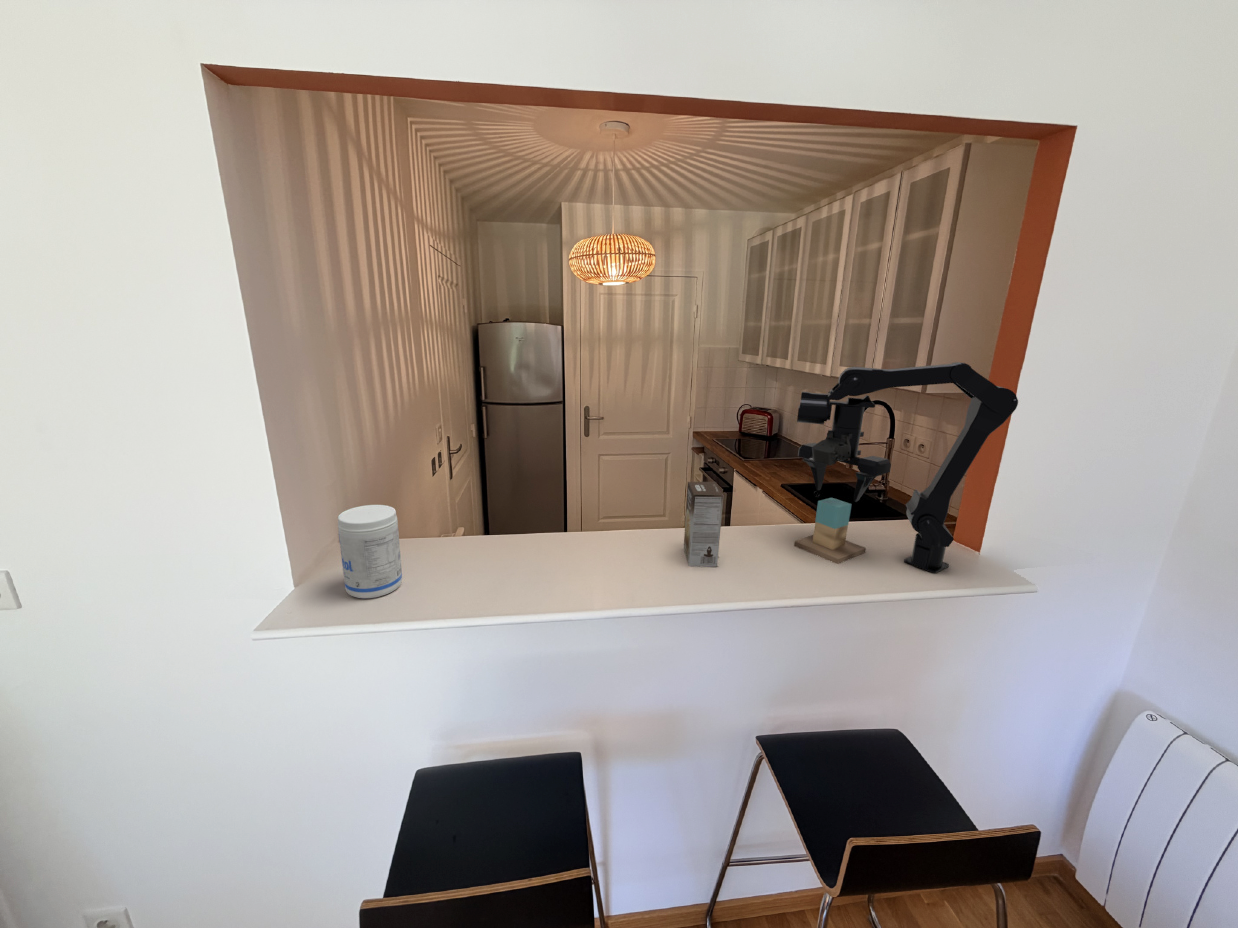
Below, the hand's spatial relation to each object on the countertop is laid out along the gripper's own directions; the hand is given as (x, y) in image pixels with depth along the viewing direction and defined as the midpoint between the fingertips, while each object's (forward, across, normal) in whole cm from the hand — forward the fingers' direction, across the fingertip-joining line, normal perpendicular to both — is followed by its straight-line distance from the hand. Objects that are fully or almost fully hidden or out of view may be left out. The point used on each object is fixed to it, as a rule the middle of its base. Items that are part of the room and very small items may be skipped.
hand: (836, 495), depth 109 cm
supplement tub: (+13, -34, -90) cm, 97 cm away
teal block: (+7, 0, 0) cm, 7 cm away
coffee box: (+13, -12, -29) cm, 34 cm away
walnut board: (+14, 0, 0) cm, 14 cm away
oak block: (+12, 0, 0) cm, 12 cm away
